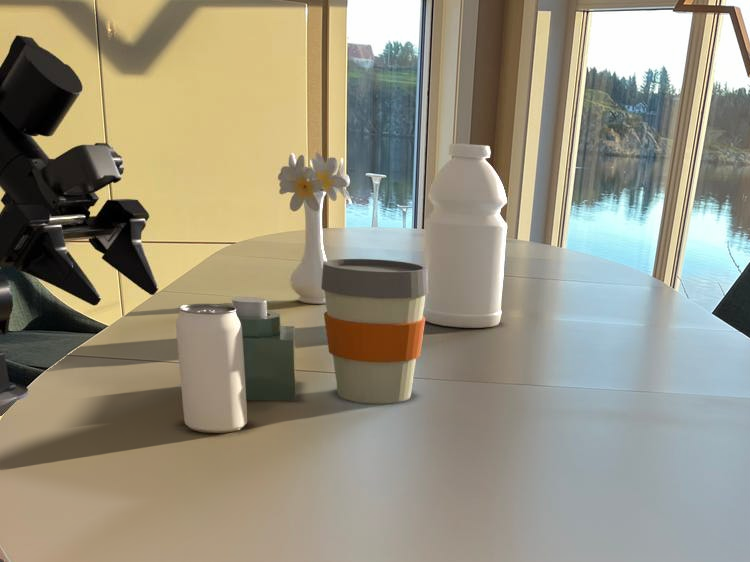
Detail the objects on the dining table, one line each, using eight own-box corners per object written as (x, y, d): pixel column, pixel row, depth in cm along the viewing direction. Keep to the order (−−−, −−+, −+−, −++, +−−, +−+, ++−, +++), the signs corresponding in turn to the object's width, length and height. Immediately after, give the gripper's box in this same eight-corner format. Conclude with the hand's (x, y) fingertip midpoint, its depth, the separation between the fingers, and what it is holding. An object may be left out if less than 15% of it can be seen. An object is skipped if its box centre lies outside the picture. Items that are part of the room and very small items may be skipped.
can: (256, 421, 103) (250, 305, 97) (234, 436, 97) (226, 315, 92) (199, 415, 103) (190, 300, 98) (174, 430, 98) (163, 310, 92)
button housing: (208, 399, 110) (202, 319, 106) (214, 381, 118) (209, 306, 113) (295, 401, 111) (292, 322, 107) (296, 383, 119) (293, 309, 115)
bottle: (430, 312, 174) (436, 142, 161) (504, 319, 173) (516, 147, 160) (415, 324, 162) (420, 141, 149) (494, 331, 161) (506, 146, 148)
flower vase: (278, 308, 169) (272, 151, 157) (285, 293, 185) (279, 150, 173) (352, 311, 170) (351, 156, 159) (352, 296, 186) (351, 154, 175)
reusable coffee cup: (302, 390, 116) (298, 260, 109) (378, 378, 124) (379, 256, 117) (369, 412, 109) (370, 274, 102) (445, 398, 117) (451, 269, 110)
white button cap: (231, 320, 108) (230, 301, 108) (233, 314, 112) (232, 296, 111) (266, 321, 109) (266, 302, 108) (268, 315, 113) (267, 297, 112)
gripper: (-13, 104, 84) (106, 250, 86) (124, 114, 99) (222, 237, 101) (-64, 195, 89) (49, 329, 92) (73, 191, 105) (167, 305, 107)
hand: (127, 297), depth 98 cm, fingers open, 9 cm apart
